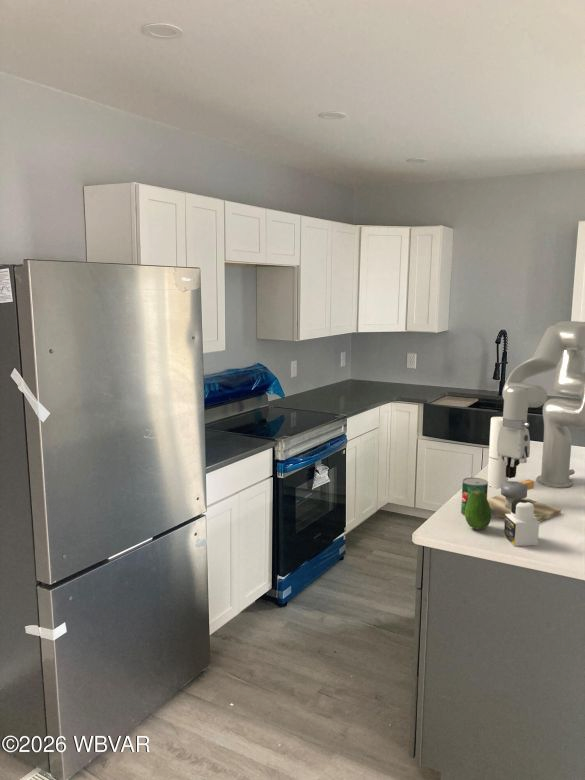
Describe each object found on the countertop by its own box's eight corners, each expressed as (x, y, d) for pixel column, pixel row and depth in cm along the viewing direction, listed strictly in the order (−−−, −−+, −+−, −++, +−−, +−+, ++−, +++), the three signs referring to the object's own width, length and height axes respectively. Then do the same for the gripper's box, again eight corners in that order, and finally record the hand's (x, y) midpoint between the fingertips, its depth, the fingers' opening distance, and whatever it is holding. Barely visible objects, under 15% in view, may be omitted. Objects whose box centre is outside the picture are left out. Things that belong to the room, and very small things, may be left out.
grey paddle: (516, 500, 198) (517, 490, 198) (495, 493, 205) (496, 484, 204) (541, 492, 205) (542, 483, 205) (520, 486, 212) (521, 477, 211)
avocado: (460, 524, 194) (462, 486, 192) (485, 523, 195) (487, 486, 193) (469, 534, 186) (471, 495, 184) (495, 533, 187) (497, 495, 185)
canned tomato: (455, 511, 205) (457, 478, 203) (476, 508, 208) (477, 476, 206) (470, 519, 198) (472, 486, 196) (491, 516, 200) (493, 483, 199)
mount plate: (508, 496, 219) (509, 481, 218) (560, 513, 202) (561, 497, 202) (473, 506, 209) (474, 491, 208) (526, 526, 192) (527, 508, 192)
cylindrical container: (508, 489, 227) (513, 421, 222) (488, 487, 228) (492, 420, 224) (506, 482, 234) (510, 417, 229) (486, 481, 235) (489, 416, 231)
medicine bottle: (503, 536, 185) (505, 497, 183) (526, 535, 185) (529, 496, 183) (513, 546, 178) (516, 506, 176) (538, 545, 178) (540, 505, 176)
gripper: (541, 426, 204) (536, 481, 207) (502, 418, 216) (499, 470, 219) (527, 429, 200) (522, 484, 203) (488, 420, 212) (485, 473, 215)
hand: (510, 476), depth 211 cm, fingers closed
